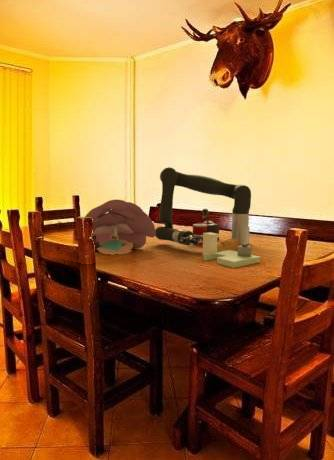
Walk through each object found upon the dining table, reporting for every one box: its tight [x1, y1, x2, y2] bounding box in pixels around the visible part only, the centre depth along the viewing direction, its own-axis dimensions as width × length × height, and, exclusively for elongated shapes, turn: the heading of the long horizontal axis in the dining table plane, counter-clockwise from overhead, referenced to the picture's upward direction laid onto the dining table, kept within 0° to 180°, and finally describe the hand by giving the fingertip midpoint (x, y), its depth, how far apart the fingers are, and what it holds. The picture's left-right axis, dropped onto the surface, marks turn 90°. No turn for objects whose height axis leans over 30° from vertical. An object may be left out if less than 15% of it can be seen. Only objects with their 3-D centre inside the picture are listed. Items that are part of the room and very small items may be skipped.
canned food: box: [192, 223, 207, 246], centre depth 201 cm, size 8×8×11 cm
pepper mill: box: [199, 208, 220, 241], centre depth 220 cm, size 16×11×18 cm
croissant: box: [217, 237, 249, 252], centre depth 182 cm, size 21×10×8 cm, turn 107°
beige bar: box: [202, 232, 220, 257], centre depth 168 cm, size 4×6×11 cm
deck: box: [203, 243, 261, 269], centre depth 159 cm, size 17×18×8 cm
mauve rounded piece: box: [84, 199, 156, 256], centre depth 179 cm, size 35×24×28 cm
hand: (204, 241), depth 172 cm, fingers open, 8 cm apart
